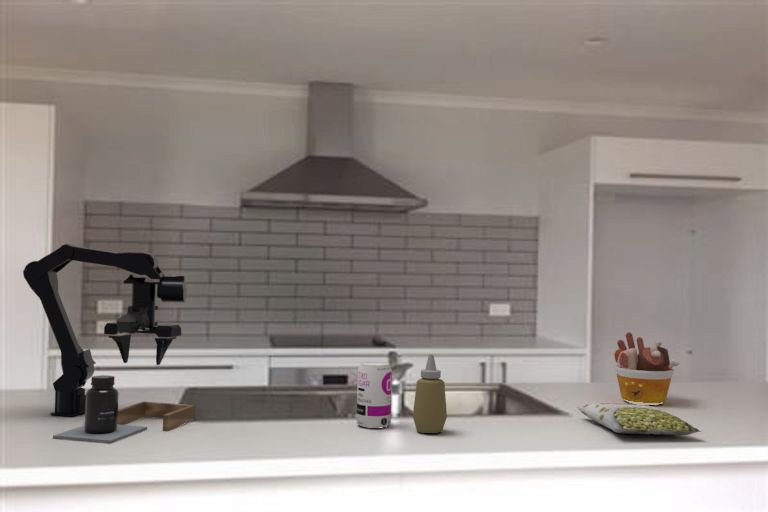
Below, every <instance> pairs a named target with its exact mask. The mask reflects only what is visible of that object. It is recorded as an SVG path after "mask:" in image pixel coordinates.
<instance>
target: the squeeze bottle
mask: <svg viewBox="0 0 768 512" xmlns="http://www.w3.org/2000/svg"><path fill="white" fill-rule="evenodd" d="M441 373H442V371H441V370H439V369H437V365H436V360H435V356H434V354H428V356H427V360H426V364H425V369H424V368H422V369H421V370H420V377H421V378H418V380H417V381H416V386H415V393H414V403H413V410H412V412H413V413H412V419H413V421H414V425H415V429H416V431H417V432H418V433H420V432H421V433H420V434H424V433H438V432H441V431H442V432H443V429H444V427H445V425H446V420H447V418H448V414H447V413H448V412H447V399H446V398H447V397H446V387H445V386H446V385H445V381H444V380H443V379H441V377H442V376H441V375H442V374H441ZM442 432H441V433H442ZM438 434H439V433H438Z"/></svg>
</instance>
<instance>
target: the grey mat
mask: <svg viewBox="0 0 768 512" xmlns="http://www.w3.org/2000/svg"><path fill="white" fill-rule="evenodd" d="M84 427H85V424H84V425H81V426H78V427H76V428H71V429H69V430H66V431H62V432H59V433H57V434H53V435H52V439H56V440H66V441H67V440H68V441H77V442H78V441H81V442H91V443H101V444H113V443H115V442H119V441H121V440H124V439H127V438H128V437H131V436H134V435H137V434H139V433H142V432H145V431H147V430H148V426H142V425H129V424H128V425H127V424H123V425H119V424H117V429H116V431H114V432H111V433H103V434H93V433H87V432H86V431H85V429H84Z"/></svg>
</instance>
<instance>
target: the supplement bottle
mask: <svg viewBox="0 0 768 512" xmlns="http://www.w3.org/2000/svg"><path fill="white" fill-rule="evenodd" d="M115 380H116V379H115V376H114V375H107V374H106V375H104V374H103V375H102V374H101V375H94V376H93V375H92V377H91V383H90V386H91V388H89V389H88V390H87V391H86V392H85V395H86V404H85V413H84V425H85V427H84V429H85V431H86V432H87V433H93V434H103V433H111V432H114V431H116V429H117V420H118V409H119V397H120V395H119V390H118V389H117V388H116V387H114V385H115V384H116V383H115Z"/></svg>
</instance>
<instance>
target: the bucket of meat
mask: <svg viewBox="0 0 768 512" xmlns="http://www.w3.org/2000/svg"><path fill="white" fill-rule="evenodd" d="M625 339H626V343H627V345H626V343H625V341H624V340H622V339H619V340H617V341H616V342H617V343H616V344H617V346H618V349H617V350H615V352H614V354H613V355H614V360H615V362H616V365H614V369H615V372H616V378H617V383H618V387H619V393H620V397H621V398H622V400H623V399H625V400H628V401H633V402H643V403H661V402H664V403H665V402H666V400H667V396H668V393H669V389H670V386H671V381H672V377H673V375H674V369H673V368H674V367H678V366H679V365H680V362H679V361H678V360H676V359H674V358H672V359H670V355H669V350H668V349H667V348H665V347H662V342H661V341H655V342H654V343H653V344H652V343H651V345H649V347H645V344H644V340H643V338H642V337H641V336H640V337H637V339H636V344H637V345H636V344H635V340H634V336H633V334H632V333H631V332H626V334H625ZM636 346H637V348H638V349H637V348H636ZM627 347H628V348H627Z"/></svg>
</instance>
